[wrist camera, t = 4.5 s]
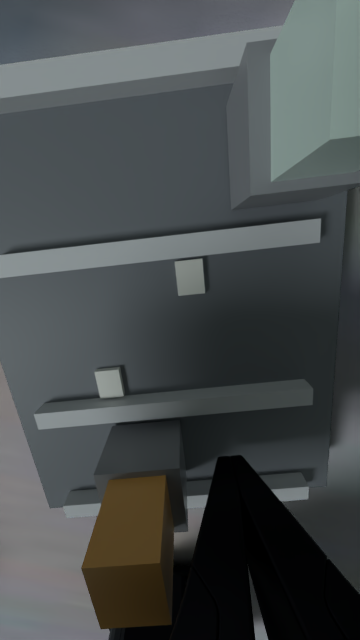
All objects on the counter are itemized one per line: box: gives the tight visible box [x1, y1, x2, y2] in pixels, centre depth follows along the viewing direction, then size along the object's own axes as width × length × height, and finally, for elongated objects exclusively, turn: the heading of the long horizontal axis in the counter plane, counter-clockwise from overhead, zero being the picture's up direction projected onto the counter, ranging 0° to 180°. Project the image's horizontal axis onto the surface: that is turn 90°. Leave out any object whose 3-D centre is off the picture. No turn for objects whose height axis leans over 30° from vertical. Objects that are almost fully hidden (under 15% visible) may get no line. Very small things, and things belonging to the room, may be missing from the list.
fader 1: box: [81, 420, 188, 629], centre depth 7 cm, size 2×2×4 cm
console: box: [0, 25, 348, 518], centre depth 8 cm, size 14×11×2 cm
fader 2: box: [226, 0, 360, 210], centre depth 5 cm, size 2×2×4 cm
